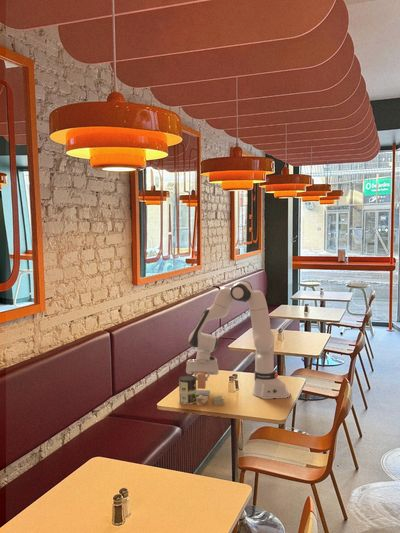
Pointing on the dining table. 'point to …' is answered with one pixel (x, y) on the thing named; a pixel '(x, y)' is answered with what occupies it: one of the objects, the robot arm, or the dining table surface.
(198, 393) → the pad
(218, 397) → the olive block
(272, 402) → the dining table surface
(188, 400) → the coffee can
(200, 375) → the pillar
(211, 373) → the robot arm
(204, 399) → the mottled white pinkish lump
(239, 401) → the dining table surface
